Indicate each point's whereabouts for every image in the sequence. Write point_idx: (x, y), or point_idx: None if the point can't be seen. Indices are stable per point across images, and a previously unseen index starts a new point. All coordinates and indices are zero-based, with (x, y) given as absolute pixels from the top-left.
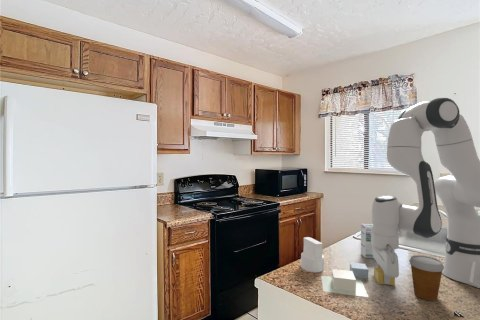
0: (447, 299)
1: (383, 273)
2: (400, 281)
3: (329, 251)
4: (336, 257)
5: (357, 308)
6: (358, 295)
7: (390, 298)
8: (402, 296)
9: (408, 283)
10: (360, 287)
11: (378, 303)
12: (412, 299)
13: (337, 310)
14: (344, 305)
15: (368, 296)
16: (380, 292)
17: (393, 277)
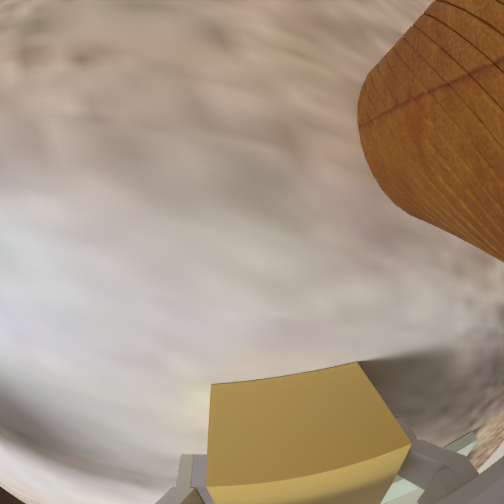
0: (409, 6)
1: (374, 500)
2: (174, 292)
3: (15, 492)
4: (48, 501)
5: (494, 434)
6: None
7: (474, 373)
8: (464, 316)
9: (194, 214)
10: (406, 484)
11: (492, 402)
12: (487, 260)
13: (487, 457)
14: (476, 459)
15: (473, 442)
16: (422, 420)
17: (394, 433)
